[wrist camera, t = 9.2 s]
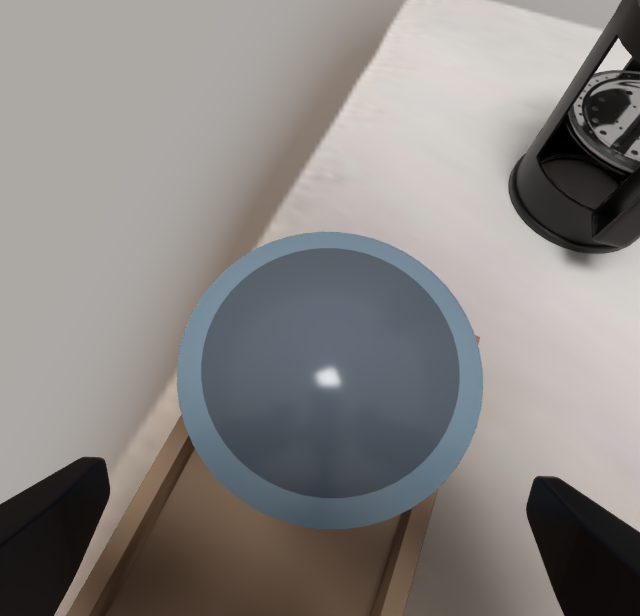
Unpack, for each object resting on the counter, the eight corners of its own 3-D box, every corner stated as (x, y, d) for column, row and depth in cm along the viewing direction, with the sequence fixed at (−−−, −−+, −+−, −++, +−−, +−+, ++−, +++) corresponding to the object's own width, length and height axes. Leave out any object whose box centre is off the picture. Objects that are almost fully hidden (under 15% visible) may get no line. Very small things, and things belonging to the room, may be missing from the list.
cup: (406, 455, 20) (549, 400, 8) (298, 537, 18) (280, 616, 7) (334, 352, 22) (363, 191, 10) (231, 417, 21) (126, 314, 9)
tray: (327, 817, 15) (330, 874, 13) (66, 656, 17) (28, 682, 15) (463, 352, 23) (480, 337, 21) (275, 278, 25) (271, 256, 23)
